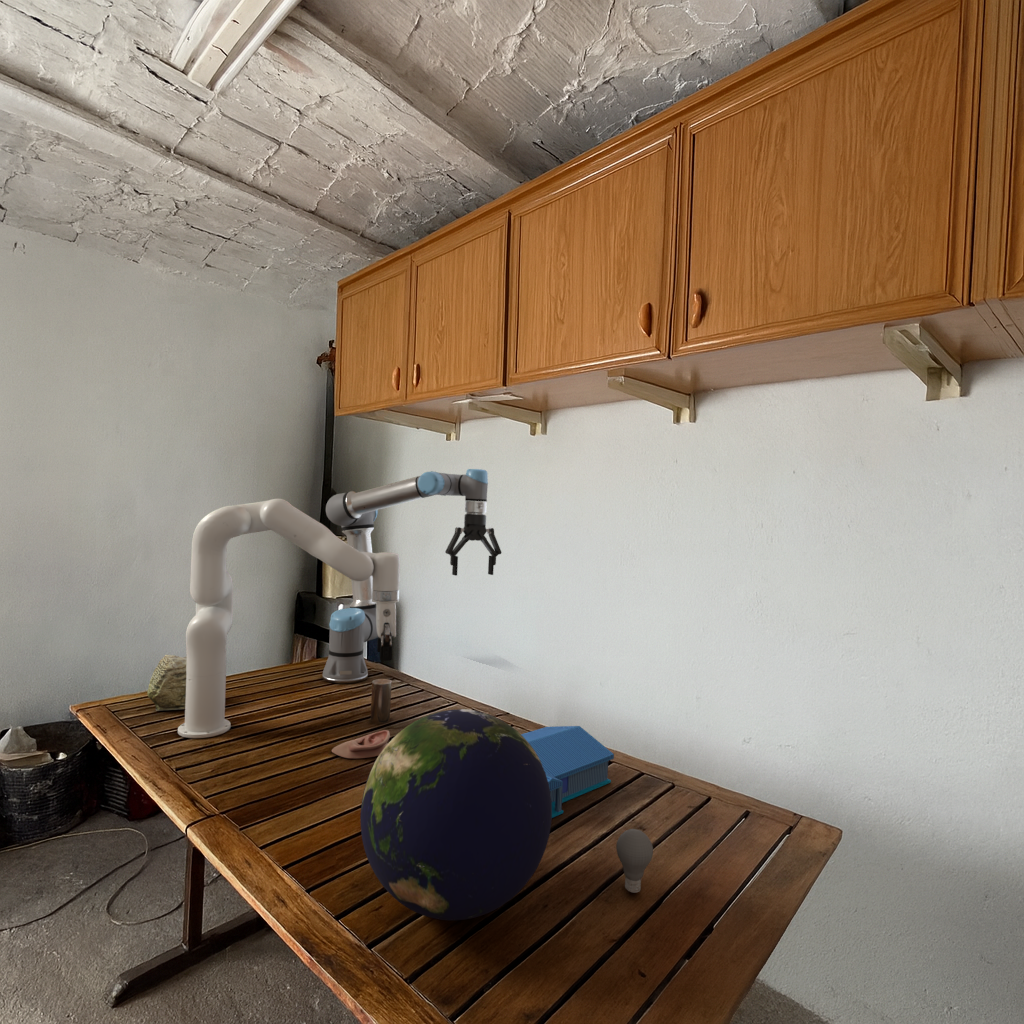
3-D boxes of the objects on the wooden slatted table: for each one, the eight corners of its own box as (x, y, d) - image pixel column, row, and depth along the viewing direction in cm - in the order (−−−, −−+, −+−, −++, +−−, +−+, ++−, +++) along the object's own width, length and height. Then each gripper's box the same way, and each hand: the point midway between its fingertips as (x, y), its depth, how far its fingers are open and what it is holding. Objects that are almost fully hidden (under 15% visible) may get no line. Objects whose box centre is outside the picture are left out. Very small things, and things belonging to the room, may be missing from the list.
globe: (314, 931, 92) (322, 727, 92) (419, 834, 120) (426, 677, 120) (503, 1000, 81) (513, 769, 81) (570, 876, 109) (578, 703, 108)
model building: (492, 844, 118) (494, 791, 118) (418, 795, 136) (419, 748, 136) (622, 787, 144) (624, 743, 144) (546, 752, 162) (547, 713, 162)
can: (374, 725, 177) (376, 685, 177) (367, 718, 181) (369, 680, 181) (392, 722, 180) (394, 682, 179) (385, 716, 184) (387, 677, 184)
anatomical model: (326, 739, 154) (347, 723, 165) (325, 755, 154) (346, 738, 166) (377, 746, 152) (395, 729, 163) (376, 762, 152) (394, 744, 163)
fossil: (144, 707, 182) (145, 655, 182) (212, 696, 194) (213, 647, 194) (151, 716, 175) (153, 662, 175) (221, 703, 188) (223, 653, 188)
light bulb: (610, 879, 108) (613, 822, 108) (644, 879, 109) (647, 822, 109) (619, 902, 102) (622, 840, 102) (655, 901, 103) (658, 840, 103)
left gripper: (402, 600, 173) (401, 663, 173) (395, 591, 189) (394, 648, 190) (374, 601, 170) (372, 664, 171) (370, 591, 187) (368, 649, 187)
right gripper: (445, 513, 211) (443, 576, 211) (512, 515, 222) (509, 575, 222) (437, 512, 217) (435, 573, 218) (502, 514, 229) (500, 572, 229)
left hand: (384, 655), depth 180 cm, fingers open, 9 cm apart
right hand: (472, 574), depth 220 cm, fingers open, 13 cm apart
